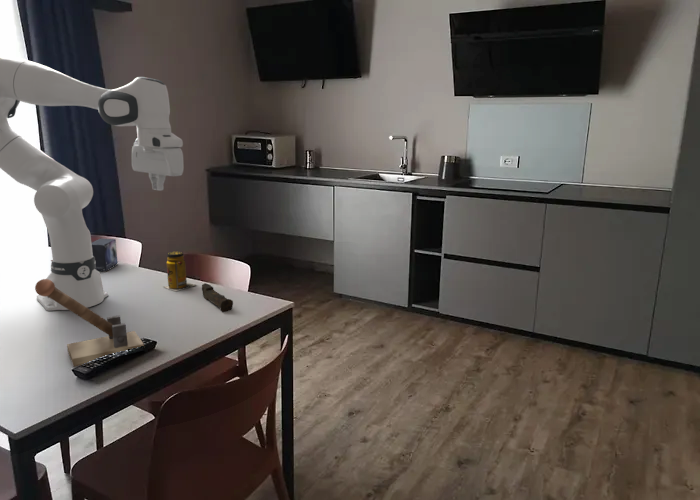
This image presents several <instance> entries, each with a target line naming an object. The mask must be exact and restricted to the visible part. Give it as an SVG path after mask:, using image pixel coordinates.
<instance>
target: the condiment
mask: <svg viewBox="0 0 700 500" xmlns="http://www.w3.org/2000/svg"><path fill="white" fill-rule="evenodd" d="M166 257H167V261H166V270H167V271H166V272H167V273H166V274H167V284H168V285H166V286H164V288H166V289H168V290H170V291H174V292H177V291H181V290H185V289H188V288H192V287H194V286H196V284H193V283H191V282H188V280H187V270H186V269H187V267H186V260H185V256H184V252H182V251H169V252H168V253H166Z"/></svg>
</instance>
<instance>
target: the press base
mask: <svg viewBox="0 0 700 500" xmlns="http://www.w3.org/2000/svg"><path fill="white" fill-rule="evenodd" d="M106 320H107V321H108V322H110V323H111V324H113V325H112V333H113V336H112V337H111V336H109V335H107V336H101V337H97V338H92V339H87V340H81V341H76V342H71V343H67V344H66V347H67V353H68V355H69V359H70V360H71V363H72V366H73V367H74V368H76V367H80V366H83V365H82V364H84V363H87V362H89V361H92V360H94V359H96V358H99V357H102V356H105V355H108V354H112V353H116V352H120V351H125V350H128V349H132V348H137V347H141V346H144V347H145V343H144V342H143V341H142V340H141V338H140V336H139V335H138V334H137V332H136V331H135V330H133V331H127V325H126V322H124V323H123V322H122V321H121V320H122V319H121V315H113V316H107V317H106ZM79 365H80V366H79Z"/></svg>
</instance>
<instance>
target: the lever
mask: <svg viewBox="0 0 700 500" xmlns="http://www.w3.org/2000/svg"><path fill="white" fill-rule="evenodd" d="M34 288H35V289H34V290H35V293H36V294H37V295H40V296H48V297H49V298H51V299H53V300H54V301H56V302H57V303H59V304H60V305H62V306H64V307H65V308H67V309H68V310H67V311H70V312H71V313H73V314H75V315H76V316H78V317H80V318H81V319H83V320H84V321H86V322H88V324H91V325H92V326H93V327H96V329H99V330H100V331H101V332H102V333H105V334H107V336H111V337H112V336H113V333H112V325H113V324H111V323H110V322H108V321H107V319H105V318H104V317H102V316H100V315H99V314H97V313H95V312H94V311H93V310H91V309H90V308H89V307H85V306H84V305H82V304H80V303H79V302H77V301H76V300H74V299H73V298H71V297H70V296H68V295H67V294H65V293H64V292H62V291H60V290H59V289H57V288H56V287H55V285H54V283H53V282H52V281H51V280H49V279H46V278H43V279H41V280H38V281H37V282H36V284H35V287H34Z"/></svg>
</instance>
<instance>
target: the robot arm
mask: <svg viewBox="0 0 700 500" xmlns="http://www.w3.org/2000/svg"><path fill="white" fill-rule="evenodd" d="M169 96H170V95H169V91H168V87H167V85H166V83H164V82H163V81H162V80H159V79H157V78H156V79H155V78H151V77H148V76H147V77H145V76H137V77H135V78H134V79H133V80H132V81H130V82H129V83H127V84H125V85H123V86H120V87H118V88H114V89H108V88H103V87H100V86H97V85H93V84H91V83H90V84H89V83H86V82H84V81H80V80H79V79H76V78H73V77H72V76H69V75H67V74H64V73H62V72H60V71H58V70H55V69H53V68H51V67H49V66H47V65H43V64H41V63H38V62H35V61H31V60H28V59H24V58H20V57H14V56H6V55H0V170H2V171H4V173H6V174H7V175H9V176H10V177H11V178H12V179H13V180H14V181H16V182H17V183H18V184H21V185H24V186H27V187H29V188H31V189H32V190H34V191H35V194H34V196H33V203H34V206H35V208H36V210H37V211H38V212H39V213H40V214H41V216H42V219H43V221H44V224H45V226H46V230H47V232H48V235H49V242H50V248H51V256H52V259H51V260H50V262H51V263H50V271H51V272H50V273H49V275H47V277H46V278H45V279H49V280H51V281H52V282H53V283H54V285H55V287H56V288H57V289H59V290H60V291H62V292H64V293H65V294H67V295H68V296H70V297H71V298H73V299H74V300H76V301H77V302H79V303H80V304H82V305H84V306H85V307H87V308H90V307H93V306H96V305H98V304H100V303H102V302H103V301H104V300H105V298H106V297H108V296H109V294H108V291H104V285H103V280H102V275H101V271H97V270H96V269H95V268H96V261H95V257H94V256H93V252H92V237H91V236H92V235H91V232H90V230H89V228H88V227H87V224H86V220H85V218H84V215H83V209H84V208H86V207H87V206H88V205H89V204H90V202H91V201H92V199H93V196H94V188H93V185H92V183H91V182H90V181H89V180H88V179H87V178H85V177H84V176H81V175H79V174H77V173H75V172H74V171H73V170H71V169H69V168H68V167H66V166H65V165H63V164H61V163H60V162H58V161H56V160H55V159H54V158H52V157H50V156H49V155H47V154H46V153H45V152H44V151H42V150H41V149H39V147H37V146H36V145H35V144H33V142H31V141H30V140H29V139H27V138H26V137H25V136H24V135H23V134H22V133H20V132H19V131H18V130H16V129H15V128H14V127H13V126H12V125H11V124H10V122H9V119H11V118H13V117H14V116H15V115H16V112H17V111H16V110H17V109H18V106H19V104H20V102H21V103H22V102H23V103H26V104H30V105H34V106H41V107H42V106H44V107H45V106H46V107H65V106H67V107H68V106H69V107H70V106H71V107H72V106H77V107H86V108H91V109H94V110H98V113H99V115H100V117H101V119H102V120H103V122H105V123H107V124H108V125H111V126H115V127H136V134H137V135H136V136H137V138H136V139H135V141H134V142H133V146H131V147H132V148H131V168H132V170H133V171H134V172H139V173H147V174H148V178H149V180H150V181H149V182H150V183H151V188H152V190H154V191H164V189H165V187H164V183H165V181H166V177H180V176H182V175H183V173H184V170H185V169H184V166H185V165H184V153H183V149H181V148H183V145H184V142H183V139H182V138H180V137H179V136H177V135H176V134H174V133H173V132H172V126H171V123H170V113H171V107H170V97H169ZM36 300H37V301H38V302H39V303H40V304H41V306H42V307H43V308H44V309H45V310H46V311H60V310H61V311H69V310H68V309H67V308H65V307H64V306H62V305H60V304H59V303H57V302H56V301H54V300H53V299H51V298H49V297H48V296H40V295H39V294H37V295H36Z"/></svg>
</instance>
